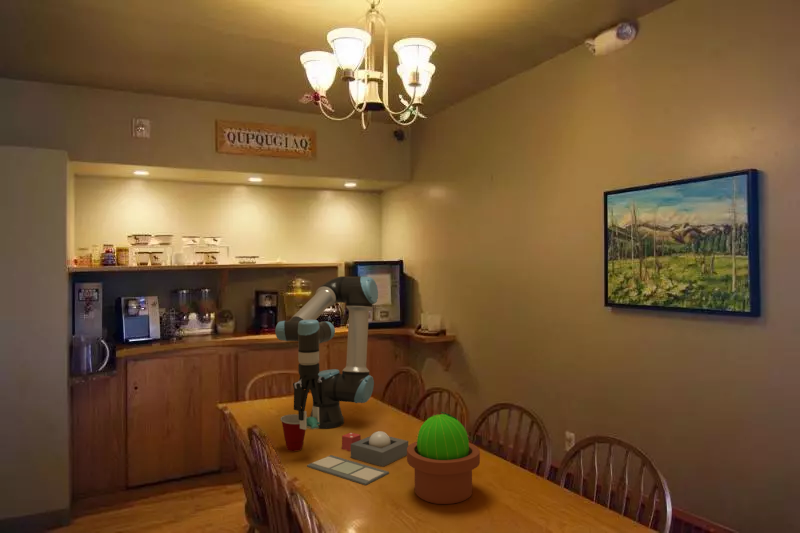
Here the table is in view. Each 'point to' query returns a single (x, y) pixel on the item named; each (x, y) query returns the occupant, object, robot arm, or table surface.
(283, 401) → the table surface
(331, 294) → the robot arm
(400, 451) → the dome collar
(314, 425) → the turtle figurine
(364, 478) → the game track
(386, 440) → the white ball
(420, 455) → the potted cactus
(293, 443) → the plastic cup
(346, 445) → the red die
